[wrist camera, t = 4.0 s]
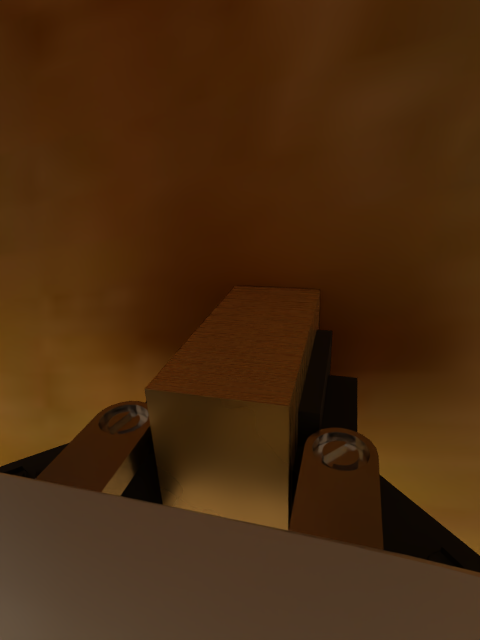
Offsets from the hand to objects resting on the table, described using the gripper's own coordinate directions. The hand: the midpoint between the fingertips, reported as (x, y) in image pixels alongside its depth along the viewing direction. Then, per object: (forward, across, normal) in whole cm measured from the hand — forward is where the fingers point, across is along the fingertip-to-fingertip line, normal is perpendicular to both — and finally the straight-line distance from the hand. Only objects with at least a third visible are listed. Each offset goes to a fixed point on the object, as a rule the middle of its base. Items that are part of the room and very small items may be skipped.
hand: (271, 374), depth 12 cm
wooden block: (+1, 0, 0) cm, 1 cm away
